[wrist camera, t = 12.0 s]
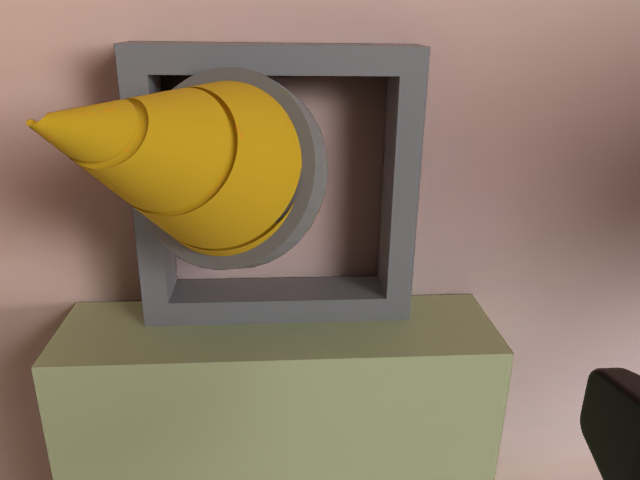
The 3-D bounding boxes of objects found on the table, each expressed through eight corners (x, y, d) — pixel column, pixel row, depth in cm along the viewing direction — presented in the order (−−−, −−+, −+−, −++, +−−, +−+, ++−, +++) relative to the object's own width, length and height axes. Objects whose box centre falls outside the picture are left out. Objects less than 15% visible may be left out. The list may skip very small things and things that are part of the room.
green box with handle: (501, 45, 18) (560, 52, 14) (443, 530, 25) (473, 619, 21) (35, 40, 17) (-32, 46, 13) (114, 547, 24) (84, 643, 20)
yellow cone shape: (389, 205, 18) (232, 161, 8) (255, 296, 19) (-10, 346, 10) (301, 66, 19) (69, -117, 9) (180, 162, 20) (-128, 90, 11)
